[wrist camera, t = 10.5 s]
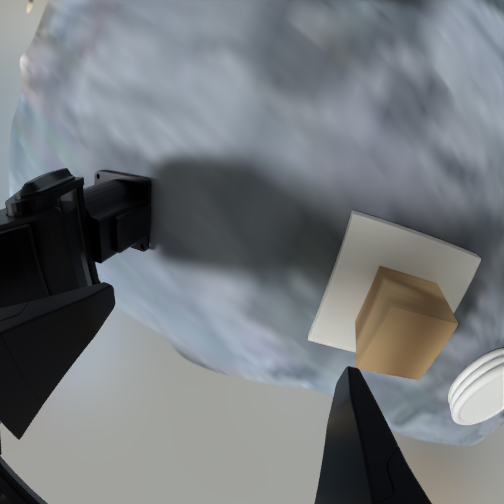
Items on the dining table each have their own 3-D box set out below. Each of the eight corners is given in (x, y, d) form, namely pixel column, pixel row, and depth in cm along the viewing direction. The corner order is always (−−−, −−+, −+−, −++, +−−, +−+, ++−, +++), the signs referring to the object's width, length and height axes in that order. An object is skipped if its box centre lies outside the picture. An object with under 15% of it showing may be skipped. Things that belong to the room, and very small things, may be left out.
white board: (309, 332, 23) (307, 340, 22) (352, 209, 18) (353, 213, 17) (417, 358, 21) (419, 365, 20) (476, 253, 16) (481, 259, 15)
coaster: (445, 369, 21) (452, 395, 18) (521, 330, 17) (534, 352, 13) (447, 414, 23) (451, 436, 20) (512, 384, 19) (519, 403, 16)
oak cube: (354, 321, 20) (356, 367, 16) (379, 265, 18) (391, 306, 13) (408, 334, 19) (419, 379, 15) (436, 283, 17) (458, 324, 12)
